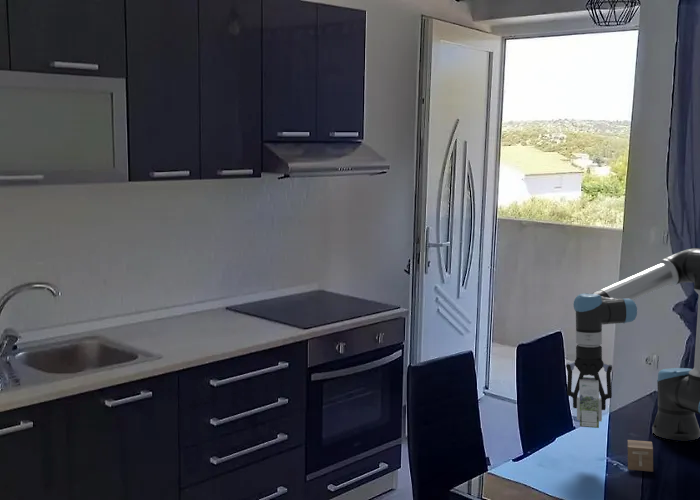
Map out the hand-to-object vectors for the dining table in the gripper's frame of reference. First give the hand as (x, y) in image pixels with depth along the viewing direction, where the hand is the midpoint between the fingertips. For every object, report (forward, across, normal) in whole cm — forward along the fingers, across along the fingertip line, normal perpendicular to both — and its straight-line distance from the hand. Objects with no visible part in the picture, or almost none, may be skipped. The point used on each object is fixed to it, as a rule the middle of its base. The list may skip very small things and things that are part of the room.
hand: (589, 419), depth 226 cm
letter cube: (+14, +15, +2) cm, 21 cm away
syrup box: (+2, 0, 0) cm, 2 cm away
